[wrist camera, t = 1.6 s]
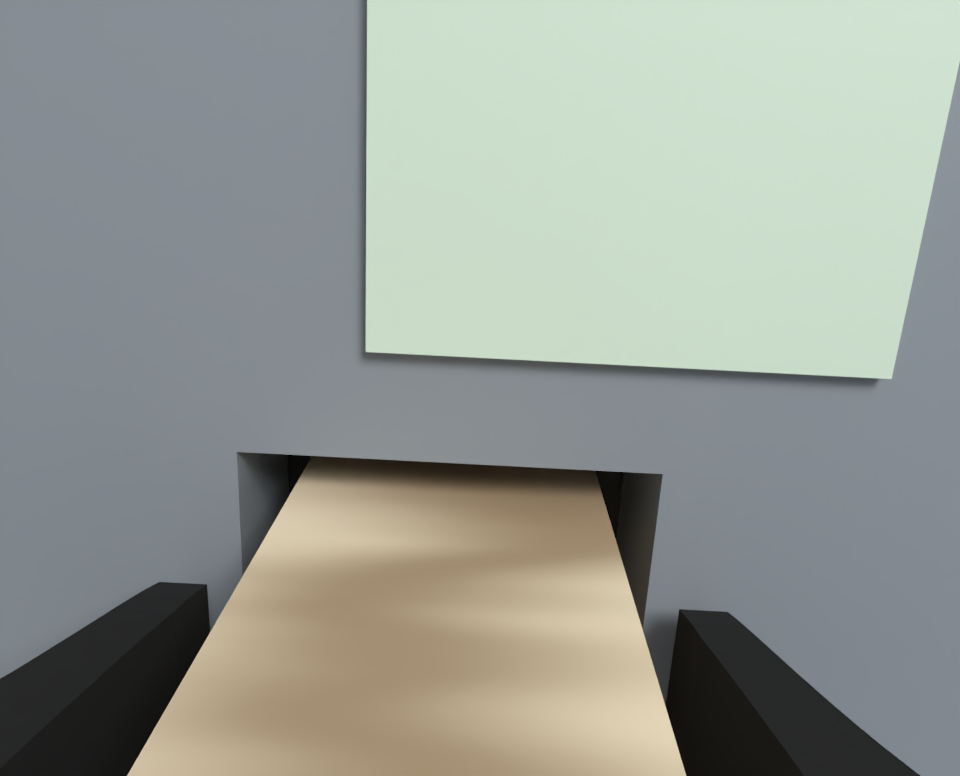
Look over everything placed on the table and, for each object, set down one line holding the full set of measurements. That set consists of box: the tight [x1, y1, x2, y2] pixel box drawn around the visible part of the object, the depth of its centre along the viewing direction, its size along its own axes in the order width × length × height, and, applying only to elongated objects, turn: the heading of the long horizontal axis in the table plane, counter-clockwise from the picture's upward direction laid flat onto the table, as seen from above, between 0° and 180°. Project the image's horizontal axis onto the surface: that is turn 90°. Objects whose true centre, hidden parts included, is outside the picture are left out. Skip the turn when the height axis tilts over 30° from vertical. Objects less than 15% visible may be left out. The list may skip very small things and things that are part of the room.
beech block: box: [127, 456, 686, 776], centre depth 9 cm, size 4×4×7 cm
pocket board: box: [0, 0, 960, 776], centre depth 11 cm, size 14×16×3 cm
